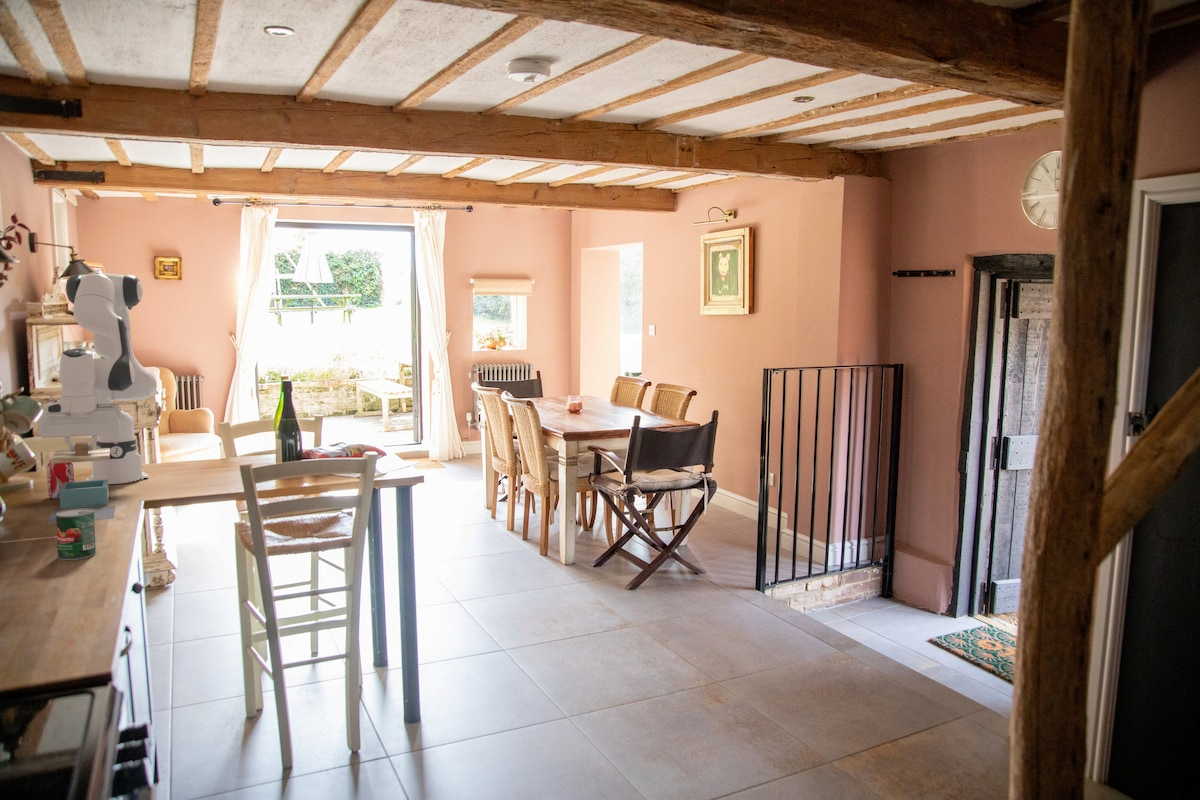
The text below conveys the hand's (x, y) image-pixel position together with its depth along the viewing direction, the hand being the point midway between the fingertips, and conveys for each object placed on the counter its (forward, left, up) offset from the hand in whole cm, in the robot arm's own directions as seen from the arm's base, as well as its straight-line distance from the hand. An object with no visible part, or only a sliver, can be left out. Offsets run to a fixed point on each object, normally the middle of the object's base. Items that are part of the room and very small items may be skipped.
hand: (81, 450), depth 238 cm
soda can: (-21, -7, -18) cm, 29 cm away
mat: (+8, 0, -18) cm, 19 cm away
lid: (0, 0, -2) cm, 2 cm away
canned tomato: (+51, +1, -18) cm, 54 cm away
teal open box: (-8, 0, -18) cm, 20 cm away
